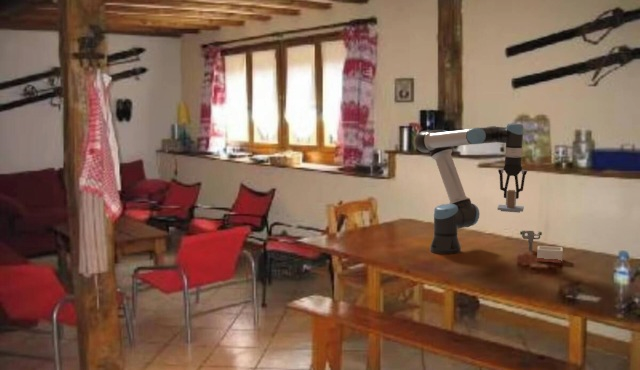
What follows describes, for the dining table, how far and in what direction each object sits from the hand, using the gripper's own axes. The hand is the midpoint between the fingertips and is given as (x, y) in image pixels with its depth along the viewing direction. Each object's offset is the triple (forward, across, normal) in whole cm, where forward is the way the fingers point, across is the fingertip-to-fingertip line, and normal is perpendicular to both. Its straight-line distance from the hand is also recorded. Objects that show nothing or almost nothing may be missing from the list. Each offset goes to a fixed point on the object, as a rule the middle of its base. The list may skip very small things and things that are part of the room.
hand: (510, 205), depth 307 cm
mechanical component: (+26, +10, +17) cm, 32 cm away
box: (+25, +19, -2) cm, 32 cm away
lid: (+2, 0, 0) cm, 2 cm away
